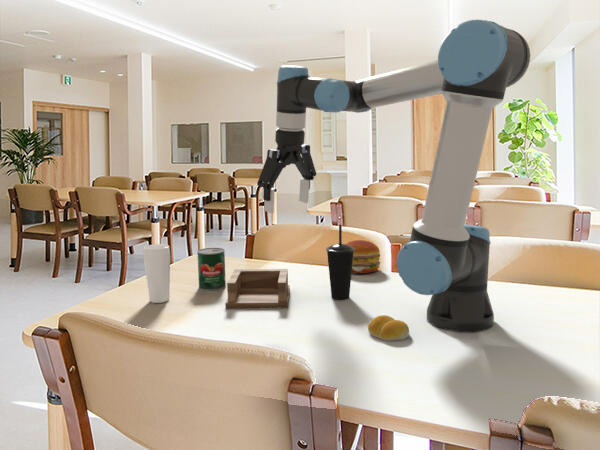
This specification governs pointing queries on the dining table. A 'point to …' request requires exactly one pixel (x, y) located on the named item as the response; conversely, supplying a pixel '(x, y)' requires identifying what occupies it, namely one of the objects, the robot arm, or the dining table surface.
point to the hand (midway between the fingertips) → (286, 206)
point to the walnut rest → (258, 289)
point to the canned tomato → (211, 269)
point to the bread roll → (388, 328)
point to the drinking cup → (340, 268)
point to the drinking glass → (157, 272)
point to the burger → (364, 256)
